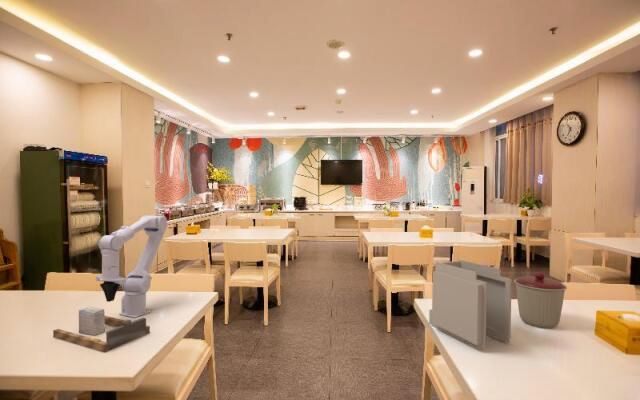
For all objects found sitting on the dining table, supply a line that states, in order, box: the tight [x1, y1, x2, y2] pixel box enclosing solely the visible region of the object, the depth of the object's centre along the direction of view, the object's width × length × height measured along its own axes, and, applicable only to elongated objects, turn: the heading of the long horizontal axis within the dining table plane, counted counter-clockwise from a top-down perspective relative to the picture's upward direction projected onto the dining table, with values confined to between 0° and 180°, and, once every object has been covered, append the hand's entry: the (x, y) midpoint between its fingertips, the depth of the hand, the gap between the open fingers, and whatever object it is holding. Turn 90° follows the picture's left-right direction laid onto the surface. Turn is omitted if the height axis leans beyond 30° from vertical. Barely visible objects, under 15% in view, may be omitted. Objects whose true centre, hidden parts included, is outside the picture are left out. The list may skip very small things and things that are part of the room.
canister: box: [513, 271, 568, 329], centre depth 136 cm, size 18×18×21 cm
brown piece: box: [52, 315, 151, 353], centre depth 122 cm, size 28×17×7 cm, turn 67°
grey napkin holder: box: [428, 259, 513, 350], centre depth 125 cm, size 17×27×26 cm, turn 25°
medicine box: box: [78, 306, 106, 336], centre depth 124 cm, size 8×4×9 cm, turn 71°
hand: (110, 300), depth 130 cm, fingers closed
